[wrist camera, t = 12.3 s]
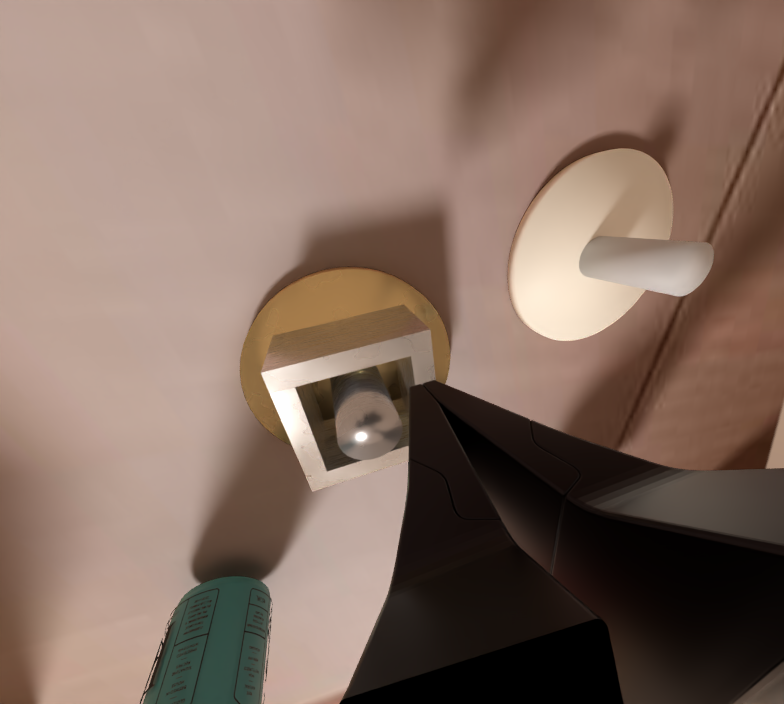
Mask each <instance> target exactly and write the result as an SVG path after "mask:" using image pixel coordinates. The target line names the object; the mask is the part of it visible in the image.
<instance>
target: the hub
mask: <svg viewBox="0 0 784 704" xmlns="http://www.w3.org/2000/svg"><path fill="white" fill-rule="evenodd" d="M403 304H404V305H405V306H406V307H407V308H408V309H409V310H410V311H411V312H412V313H413V314H414V315H416V316H417V317H418V318H419V319H420V320H421V321H422V322H423V323H424V324H425V325H426V326H427V327H428V328H429V329H430V331H431V340H432V349H433V358H434V368H435V377H436V381H438V382H441V383H443V384H445V383H446V380H447V376H448V371H449V365H450V346H449V341H448V336H447V332H446V329H445V327H444V324H443V322H442V320H441V318H440V316H439V314H438V312H437V311H436V310H435V308H434V307H433V306H432V304H431V303H430V302H429V301H428V300H427V299H426V298H425V297H424V296H423V295H422V294H421V293H420V292H418V291H417V290H416V289H414V288H413V287H412V286H410V285H409V284H407V283H406V282H404V281H402V280H400V279H399V278H397V277H395V276H393V275H390V274H387V273H385V272H382V271H378V270H373V269H369V268H360V267H339V268H332V269H327V270H321V271H318V272H315V273H312V274H309V275H306V276H304V277H302V278H300V279H298V280H296V281H294V282H292V283H291V284H289V285H288V286H287V287H285V288H284V289H282V290H281V291H279V292H278V293H277V294H276V295H275V296H274V297H273V298H272V299H271V300H269V301H268V303H267V304H266V305H265V306H264V308H263V309H262V310H261V311H260V312H259V314H258V316H257V317H256V319H255V321H254V322H253V324H252V326H251V328H250V330H249V332H248V334H247V337H246V339H245V342H244V345H243V349H242V354H241V360H240V377H241V385H242V389H243V392H244V396H245V398H246V401H247V403H248V405H249V407H250V409H251V410H252V412H253V413H254V415H255V417H256V418H257V419H258V420H259V422H260V423H261V424H262V425H263V426H264V427H265V428H266V429H267V430H268V431H269V432H271V433H272V434H273V435H274V436H276V437H277V438H279V439H280V440H282V441H283V442H285V443H287V444H289V445H291V446H292V444H291V442H290V439H289V437H288V435H287V432H286V430H285V428H284V425H283V423H282V421H281V419H280V416H279V414H278V412H277V409H276V407H275V405H274V402H273V400H272V398H271V395H270V393H269V391H268V389H267V386H266V384H265V382H264V379H263V377H262V375H261V370H262V367H263V364H264V361H265V358H266V355H267V352H268V349H269V346H270V343H271V340H272V336H273V335H277V334H282V333H286V332H290V331H294V330H298V329H303V328H307V327H311V326H315V325H319V324H324V323H328V322H332V321H336V320H340V319H345V318H349V317H353V316H357V315H361V314H365V313H370V312H374V311H378V310H382V309H386V308H391V307H395V306H399V305H403ZM311 385H312V388H313V391H314V394H315V397H316V400H317V403H318V406H319V409H320V411H321V414H322V417H323V420H324V421H325V420H328V419H331V418H335V425H336V433H337V442H338V445H339V447H340V449H341V450H342V452H343V453H344V454H346V455H347V456H349V457H351V458H354V459H358V460H370V459H375V458H378V457H381V456H383V455H385V454H387V453H388V452H389V451H391V450H392V449H393V448H394V447H395V446H396V445H397V443H398V442H399V440H400V438H401V435H402V430H403V427H402V422H401V420H400V417H399V415H398V413H397V411H396V408H395V406H394V404H393V402H392V401H393V400H397V399H400V398H402V396H401V390H400V384H399V379H398V373H397V367H396V362H395V360H394V361H390V362H387V363H383V364H379V365H376V366H372V367H368V368H364V369H361V370H357V371H353V372H349V373H346V374H342V375H338V376H335V377H331V378H327V379H323V380H320V381H316V382H312V383H311Z"/></svg>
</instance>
